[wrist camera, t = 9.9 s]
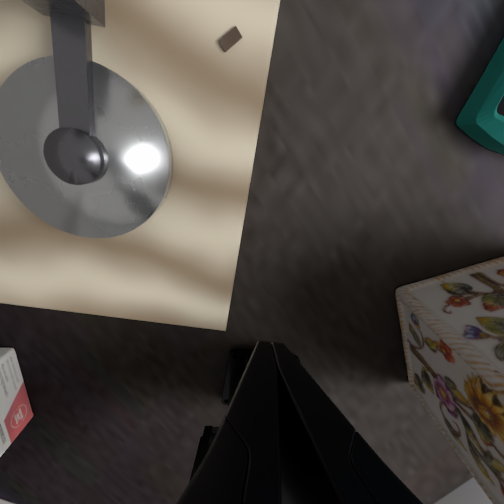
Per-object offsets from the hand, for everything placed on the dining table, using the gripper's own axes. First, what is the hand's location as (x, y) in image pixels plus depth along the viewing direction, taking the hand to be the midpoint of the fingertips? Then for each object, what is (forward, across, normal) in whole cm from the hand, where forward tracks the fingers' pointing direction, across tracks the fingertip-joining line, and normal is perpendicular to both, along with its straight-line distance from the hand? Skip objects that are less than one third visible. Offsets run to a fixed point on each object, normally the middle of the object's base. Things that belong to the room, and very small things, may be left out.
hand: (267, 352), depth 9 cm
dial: (+11, +11, -6) cm, 17 cm away
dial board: (+13, +11, -4) cm, 17 cm away
